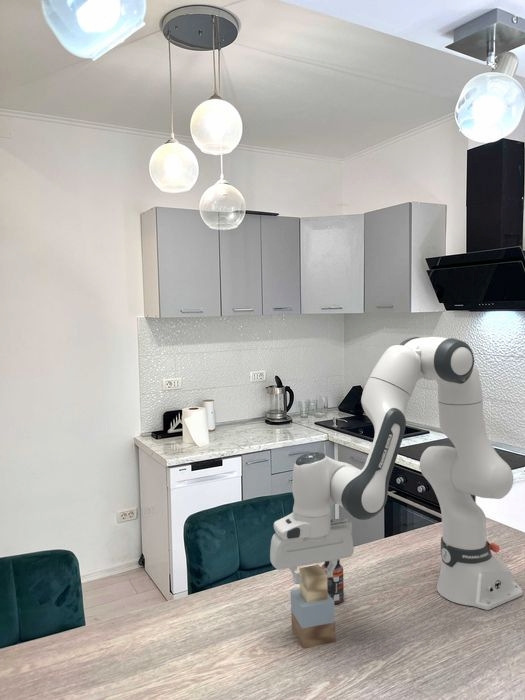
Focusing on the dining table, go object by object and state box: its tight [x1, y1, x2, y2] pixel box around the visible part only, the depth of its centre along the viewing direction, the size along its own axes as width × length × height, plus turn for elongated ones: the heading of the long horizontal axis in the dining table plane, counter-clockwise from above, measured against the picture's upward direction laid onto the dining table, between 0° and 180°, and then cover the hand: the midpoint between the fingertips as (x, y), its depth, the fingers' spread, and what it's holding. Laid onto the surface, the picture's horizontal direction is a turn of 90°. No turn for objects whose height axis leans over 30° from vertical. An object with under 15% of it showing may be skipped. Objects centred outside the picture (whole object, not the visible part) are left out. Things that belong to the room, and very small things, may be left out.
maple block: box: [298, 564, 328, 603], centre depth 122 cm, size 5×5×6 cm
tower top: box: [290, 587, 336, 629], centre depth 123 cm, size 8×8×5 cm
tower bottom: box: [290, 610, 337, 649], centre depth 123 cm, size 8×8×5 cm
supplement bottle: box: [320, 559, 345, 605], centre depth 138 cm, size 6×6×11 cm
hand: (313, 579), depth 122 cm, fingers open, 7 cm apart
